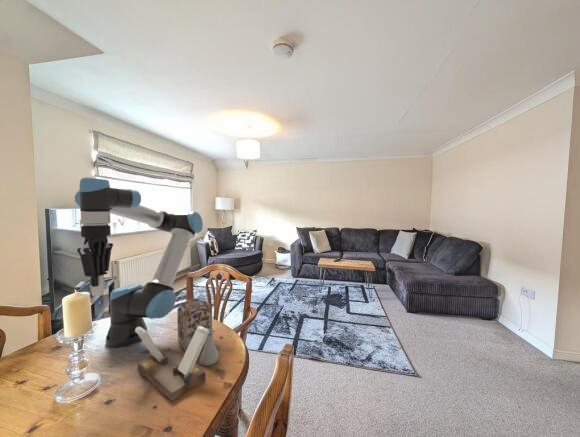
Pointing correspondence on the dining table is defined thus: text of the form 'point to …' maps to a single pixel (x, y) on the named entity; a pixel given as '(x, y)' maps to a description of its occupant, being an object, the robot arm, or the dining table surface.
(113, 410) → the dining table surface
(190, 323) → the decorative jar
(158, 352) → the switch
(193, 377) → the switch panel
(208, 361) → the flask
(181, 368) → the switch
